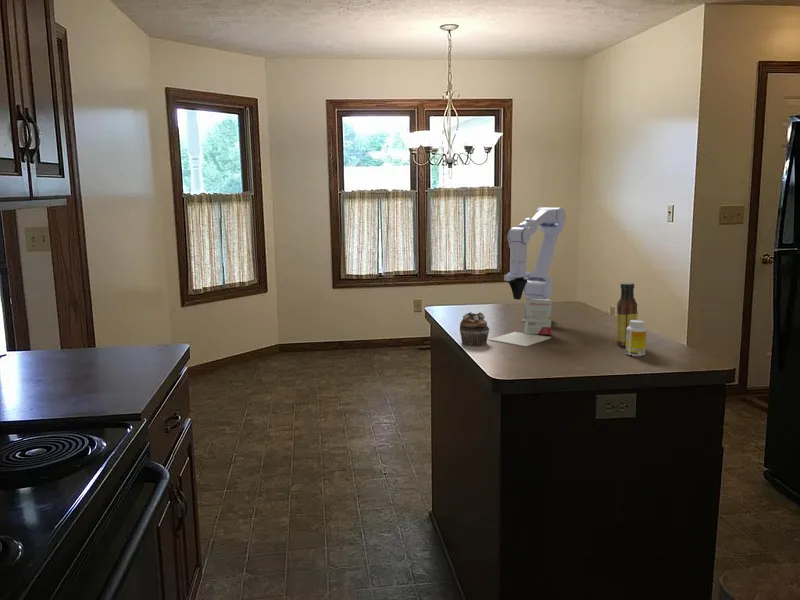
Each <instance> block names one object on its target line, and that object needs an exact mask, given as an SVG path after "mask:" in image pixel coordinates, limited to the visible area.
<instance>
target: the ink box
mask: <svg viewBox="0 0 800 600" xmlns="http://www.w3.org/2000/svg"><path fill="white" fill-rule="evenodd" d="M552 313H553V300H552V299H549V298H548V299H527V298H526V299H525V313H524V319H525V321H524V333H526V334H535V335H544V336H546V335H548V336H549V335H551V334H552V321H553V320H552V319H553V318H552V315H553V314H552Z"/></svg>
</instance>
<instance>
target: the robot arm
mask: <svg viewBox="0 0 800 600" xmlns="http://www.w3.org/2000/svg"><path fill="white" fill-rule="evenodd" d="M565 222H566V211H565V209H564V207H562V206H560V207H551V206H550V207H549V206H548V207H547V206H546V207H544V206H539V207H538V208H537V209H536V211H535V214H534V215H533V217H532V218H530V217H526V218H524V221H522V222H520V223H519V224H518V225H517V226H516V227H515V226H513V227H511V228H510V229H509V230H508V233H507V236H506V237H507V238H506V239H507V241H508V247H509V250H510V253H509V257H510V258H509V272H507V273H506V274H504V275H503V276H504V277H503V280H504V281H505V282H507V283H508V284H509V286H510V289H511V292H512V296H513V300H521V299H522V295H524V296H525V298H526V299H549V297H550V296H552V293H553V283H554V280H553V278H552V277H551V276H550V275H549V270H550V269H551V268H550V267H551V264H552V260H553V255H554V252H555V249H556V246H557V241H558V239H559V235H560V233H561V232H562V231H563V229H564V225H565ZM538 229H539V231H541V232H542V233H544V235H543V238H542V243H541V247H540V249H539V252H538V253H539V254H538V257H537V259H536V260H537V261H536V263H535V267H534V271H532V272H531V271H527V254H528V253H527V252H528V244H529V243H530V240H531V238H532V236H533V235H534V234H535V233H536V232H537V231H538ZM521 321H522V322H525V318H523V319H521ZM551 321H553V318H552V320H551Z"/></svg>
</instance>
